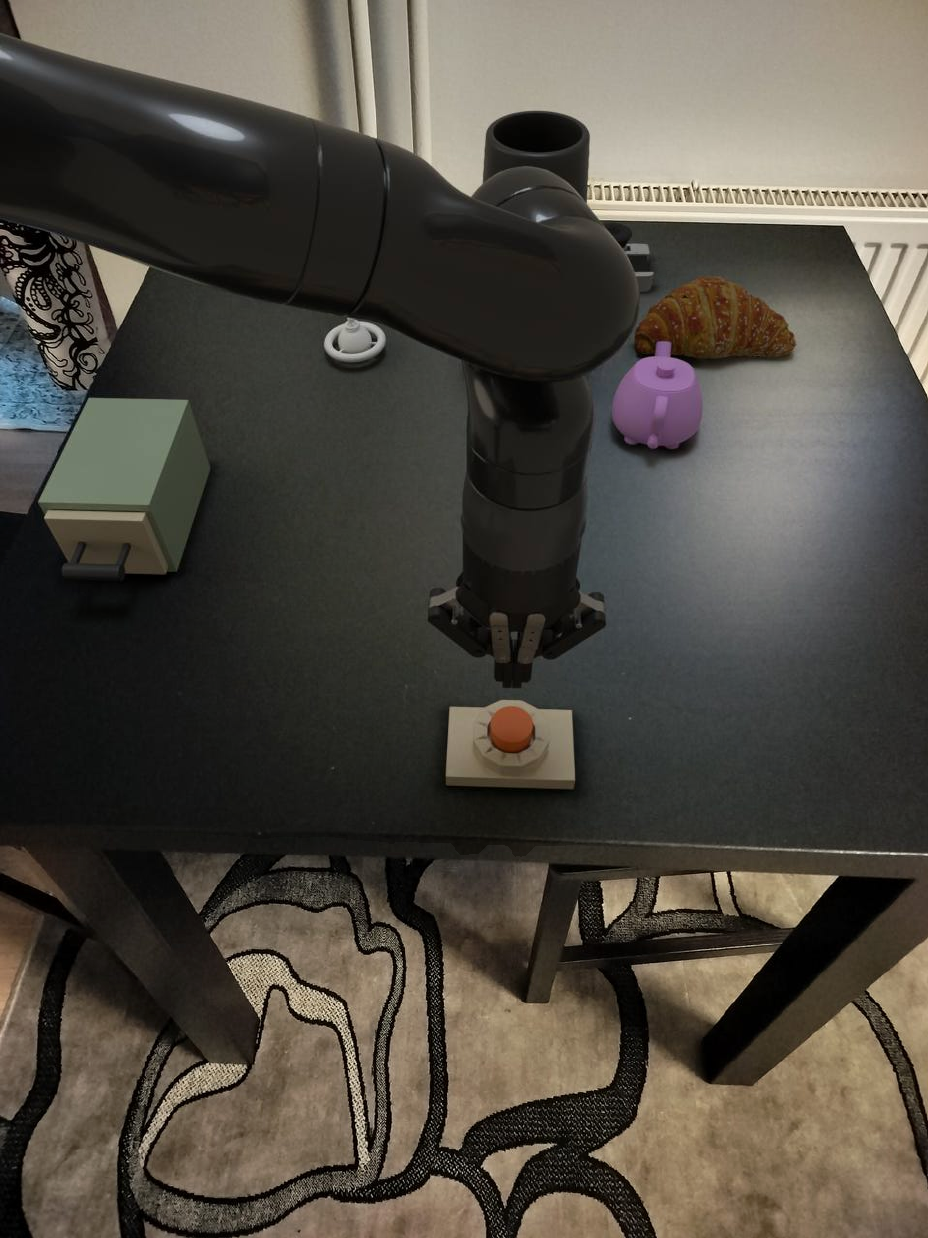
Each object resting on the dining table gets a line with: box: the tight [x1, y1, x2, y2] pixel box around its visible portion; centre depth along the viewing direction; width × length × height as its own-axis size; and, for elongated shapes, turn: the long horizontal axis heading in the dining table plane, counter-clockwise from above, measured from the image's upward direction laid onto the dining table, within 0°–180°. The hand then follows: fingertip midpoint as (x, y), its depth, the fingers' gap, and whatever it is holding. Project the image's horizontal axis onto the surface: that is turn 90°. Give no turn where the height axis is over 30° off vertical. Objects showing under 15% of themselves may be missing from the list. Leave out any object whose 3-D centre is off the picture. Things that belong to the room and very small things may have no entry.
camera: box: [602, 221, 655, 293], centre depth 121 cm, size 15×7×10 cm
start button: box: [490, 706, 533, 752], centre depth 73 cm, size 4×4×2 cm
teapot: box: [611, 341, 704, 450], centre depth 100 cm, size 10×15×9 cm
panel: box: [445, 699, 576, 790], centre depth 75 cm, size 11×7×4 cm, turn 88°
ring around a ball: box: [323, 317, 387, 363], centre depth 110 cm, size 8×6×8 cm
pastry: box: [634, 275, 797, 360], centre depth 110 cm, size 21×13×8 cm, turn 93°
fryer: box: [37, 397, 211, 573], centre depth 91 cm, size 16×11×10 cm
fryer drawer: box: [43, 509, 168, 582], centre depth 88 cm, size 19×10×8 cm, turn 178°
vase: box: [481, 110, 591, 204], centre depth 98 cm, size 14×14×29 cm
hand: (511, 678), depth 67 cm, fingers closed
